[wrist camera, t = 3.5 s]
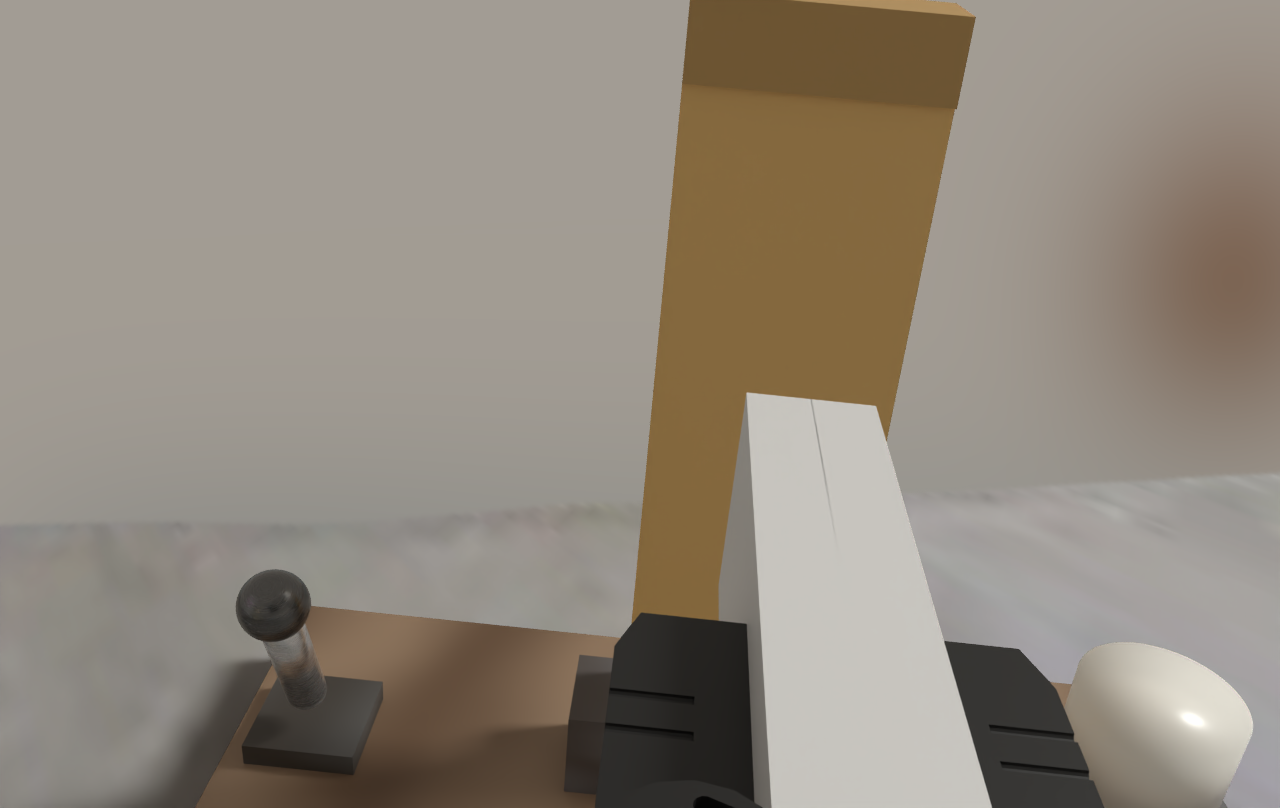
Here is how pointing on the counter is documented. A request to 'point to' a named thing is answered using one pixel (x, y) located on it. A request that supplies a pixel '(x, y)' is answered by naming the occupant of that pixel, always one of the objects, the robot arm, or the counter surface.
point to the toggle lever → (284, 633)
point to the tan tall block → (787, 242)
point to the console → (429, 720)
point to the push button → (1156, 727)
